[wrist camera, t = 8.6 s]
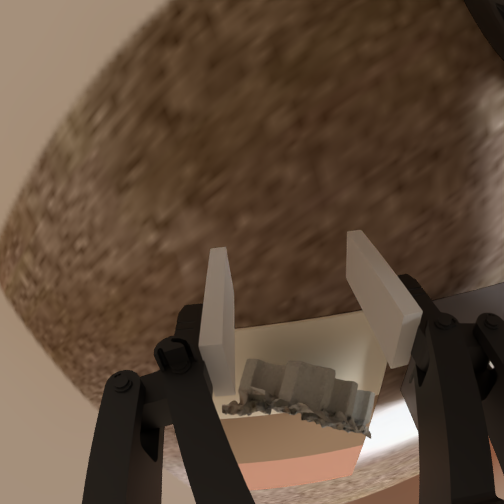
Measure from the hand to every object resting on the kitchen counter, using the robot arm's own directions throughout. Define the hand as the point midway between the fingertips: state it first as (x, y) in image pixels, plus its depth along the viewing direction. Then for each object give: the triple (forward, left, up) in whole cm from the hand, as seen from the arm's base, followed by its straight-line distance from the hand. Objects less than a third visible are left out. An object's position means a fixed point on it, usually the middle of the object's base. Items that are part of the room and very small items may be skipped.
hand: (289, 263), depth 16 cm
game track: (+23, 0, -3) cm, 23 cm away
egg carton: (+11, +1, -3) cm, 12 cm away
